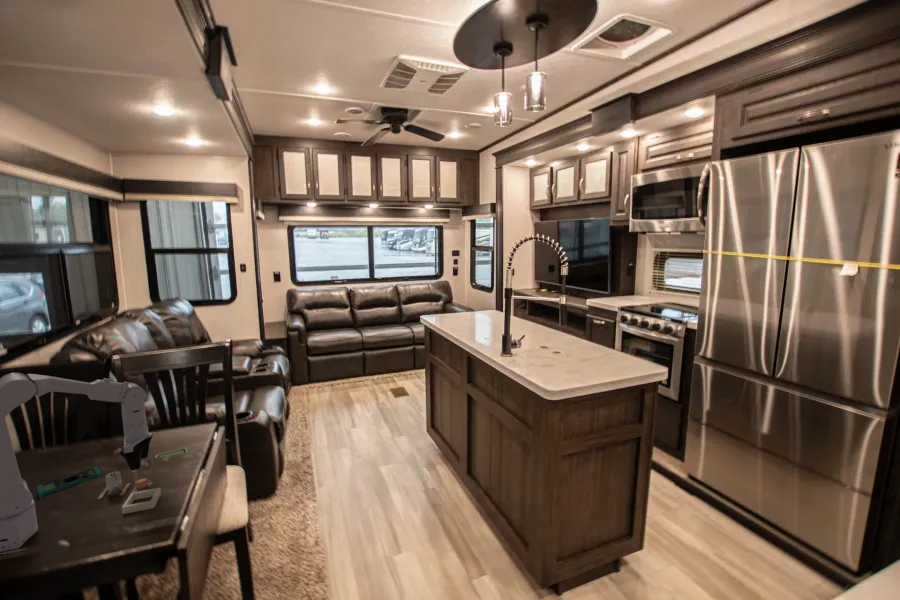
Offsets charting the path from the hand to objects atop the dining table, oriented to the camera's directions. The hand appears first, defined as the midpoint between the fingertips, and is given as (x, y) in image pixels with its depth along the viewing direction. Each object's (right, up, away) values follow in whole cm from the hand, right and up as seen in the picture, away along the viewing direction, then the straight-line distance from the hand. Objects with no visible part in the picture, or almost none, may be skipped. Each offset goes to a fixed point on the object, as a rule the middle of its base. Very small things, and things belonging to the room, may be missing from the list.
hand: (139, 463), depth 127 cm
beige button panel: (-3, -10, 0) cm, 10 cm away
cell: (-7, -9, -1) cm, 11 cm away
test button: (0, -8, +1) cm, 8 cm away
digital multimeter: (-26, -10, +5) cm, 28 cm away
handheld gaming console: (-3, -8, +19) cm, 21 cm away
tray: (+6, -10, -7) cm, 14 cm away
